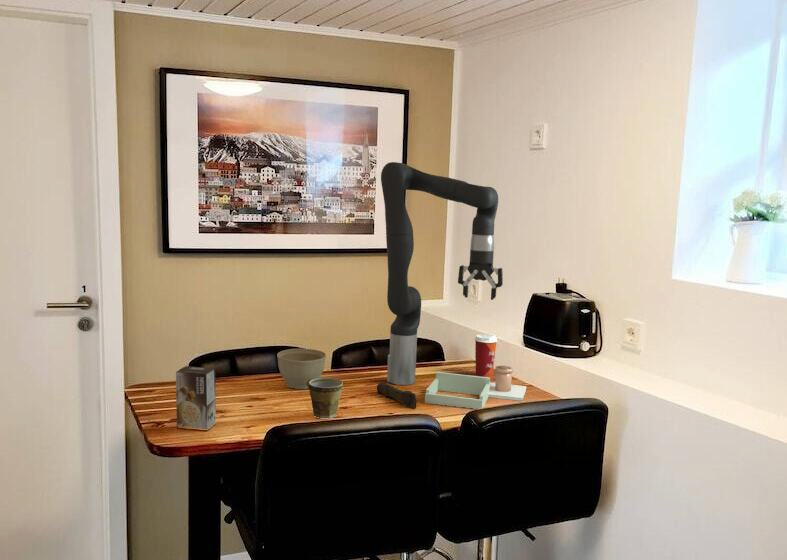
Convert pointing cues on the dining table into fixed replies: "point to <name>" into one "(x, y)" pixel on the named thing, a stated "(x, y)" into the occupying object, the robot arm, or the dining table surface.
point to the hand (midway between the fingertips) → (479, 298)
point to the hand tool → (398, 394)
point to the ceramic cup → (325, 396)
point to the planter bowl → (300, 366)
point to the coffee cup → (485, 354)
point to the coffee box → (195, 397)
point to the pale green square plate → (514, 394)
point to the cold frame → (458, 390)
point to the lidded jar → (503, 378)
